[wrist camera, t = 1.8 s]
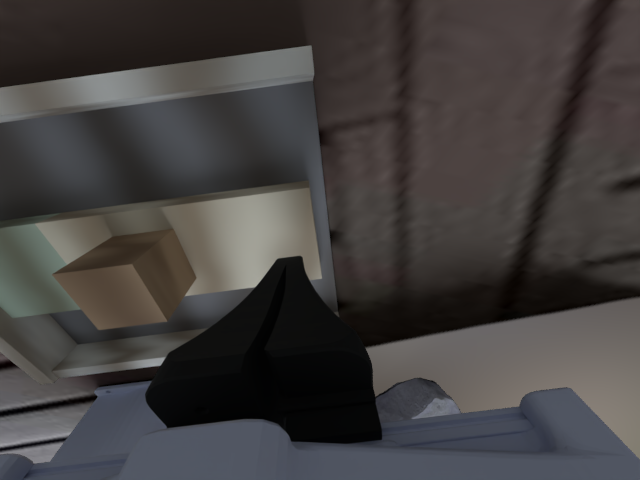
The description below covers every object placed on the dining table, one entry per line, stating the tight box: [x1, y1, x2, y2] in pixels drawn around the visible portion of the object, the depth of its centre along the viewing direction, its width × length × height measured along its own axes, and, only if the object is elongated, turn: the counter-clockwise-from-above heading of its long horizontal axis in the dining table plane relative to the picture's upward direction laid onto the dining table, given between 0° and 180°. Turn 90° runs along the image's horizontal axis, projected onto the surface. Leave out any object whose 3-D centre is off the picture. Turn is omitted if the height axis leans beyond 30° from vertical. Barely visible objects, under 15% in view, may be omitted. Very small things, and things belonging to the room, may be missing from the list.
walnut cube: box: [52, 229, 196, 330], centre depth 14 cm, size 4×4×4 cm
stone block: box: [375, 378, 461, 423], centre depth 30 cm, size 12×5×10 cm
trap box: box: [0, 45, 339, 385], centre depth 16 cm, size 26×20×3 cm
